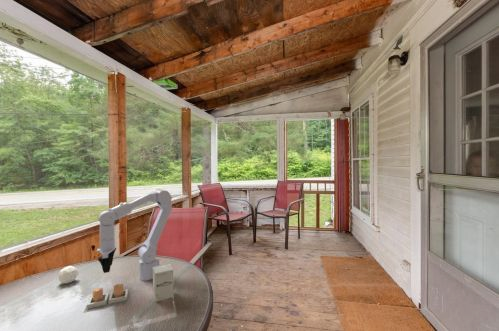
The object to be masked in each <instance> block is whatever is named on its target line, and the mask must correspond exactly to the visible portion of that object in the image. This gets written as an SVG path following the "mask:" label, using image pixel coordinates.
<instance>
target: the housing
mask: <svg viewBox="0 0 499 331" xmlns="http://www.w3.org/2000/svg"><path fill="white" fill-rule="evenodd" d="M130 294H131V289H128V288H126V289H123V295H124V296H121V297H117V298H114V291H110V293H109V292H106V293H103V301H98V302H94V303H93V295H91V296H90V297H89V299H88V301H87V304H86V305H85V308H84V311H83V313H88V312H92V311H97V310H101V309H106V308H111V307H115V306H119V305H124V304H128V303H129V302H130Z"/></svg>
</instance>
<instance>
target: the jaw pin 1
mask: <svg viewBox="0 0 499 331" xmlns="http://www.w3.org/2000/svg"><path fill="white" fill-rule="evenodd" d="M103 294H104V288H103V287H97V288H95V289H93V290H92V296H93V303H94V302H98V301H103Z"/></svg>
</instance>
